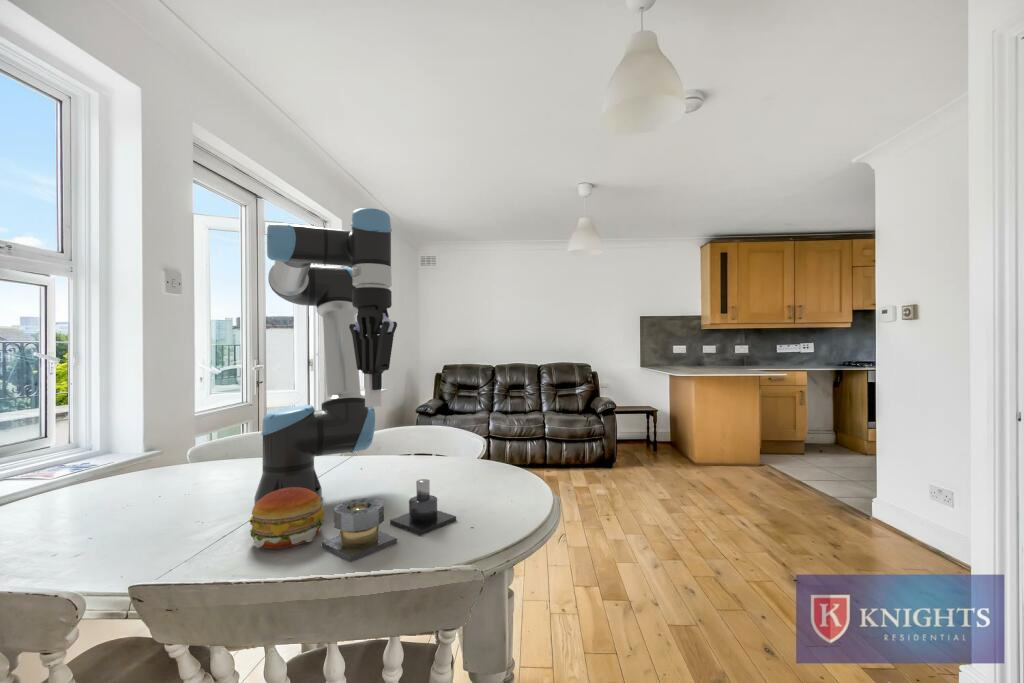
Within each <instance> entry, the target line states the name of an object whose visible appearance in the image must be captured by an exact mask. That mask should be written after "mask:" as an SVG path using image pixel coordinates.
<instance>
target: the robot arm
mask: <svg viewBox="0 0 1024 683" xmlns="http://www.w3.org/2000/svg"><path fill="white" fill-rule="evenodd" d="M350 226H351V230H345V229H337V228H335V229H334V228H325V227H317V226H309V225H300V224H291V223H289V222H286V223H275V222H273V223H269V224H268V225H267V228H266V229H267V230H266V231H267V232H266V255H267V258H268V259H269V260H271V261H274V264H273V265H272V266H271V268H270V269H269V272H268V284H269V286H270V289H271V290H272V292H274V293H275V294H276V296H278V297H280V298H282V299H283V300H284V301H287V302H288V303H289V302H290V303H292V304H295V305H298V306H310V307H316V313H317V315H319V316H321V317H322V324H323V328H322V329H323V341H324V343H323V344H324V359H325V360H324V362H325V378H326V379H325V381H326V384H325V385H326V398H325V399H324V400H323V402H321V404H320V406H321V407H320V408H321V409H317V410H315V408H314V406H313V405H312V404H311V405H310V404H305V405H296V406H295V405H293V406H290V407H289V406H288V407H285V408H279V409H277V410H273V411H270V412H268V413H267V414H266V415H264V417H263V419H262V427H261V428H262V429H261V430H262V431H261V433H260V434H261V436H262V463H261V464H262V475H261V477H260V480H259V483H258V485H257V489H256V492H255V495H254V502H253V503H254V505H255V504H256V503H257V501H259V500H260V499H261V498H262V497H264V496H265V495H267V494H269V493H271V492H273V491H276V490H279V489H283V488H289V487H300V488H306V489H309V490H311V491H313V492H315V493H316V494H317V495H318V496H319V497H320V498H321V499H322V498H323V496H322V495H323V493H322V492H323V490H322V486H321V483H320V481H319V478H318V475H317V471H316V469H315V457H321V456H330V455H339V454H344V453H345V454H346V453H347V454H348V453H351V454H354V452H355V453H356V452H361V451H366V450H368V449H369V448H370V446H371V445H372V443H373V440H374V434H375V429H376V428H375V427H376V413H375V408H376V407H381V406H382V387H383V385H382V384H383V383H382V379H383V377H382V375H383V373H384V372H385V371H389V369H390V364H391V357H392V350H393V349H392V348H393V343H394V337H395V332H396V329H397V327H398V323H397V322H396V321H392V320H391V319H390V318H389V316H390V315H389V312H388V309H391V307H392V305H393V304H392V302H393V300H392V298H393V297H392V291H391V289H389V288H391V287H392V284H393V283H392V282H393V281H392V280H393V278H392V276H393V275H392V232H393V229H392V224H391V216H390V214H389V213H388V212H386V211H384V210H382V209H379V208H372V207H364V208H363V207H362V208H357V209H355V210H354V211H353V212H352V214H351V223H350ZM315 264H317V265H315ZM328 265H329V266H328ZM339 266H340V267H339ZM355 317H356V318H355ZM355 319H356V320H355ZM360 371H361V373H362V374H363V376H364V377H363V379H364V380H363V384H364V385H363V386H364V387H363V388H364V396H363V395H362V393H361V383H360ZM374 407H375V408H374ZM254 505H253V506H254Z"/></svg>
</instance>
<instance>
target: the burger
mask: <svg viewBox="0 0 1024 683" xmlns="http://www.w3.org/2000/svg"><path fill="white" fill-rule="evenodd" d="M322 501H323V500H322V498H320V497H319V496H318V495H317V494H316V493H315V492H313V491H311V490H309V489H306V488H300V487H289V488H283V489H279V490H276V491H273V492H271V493H269V494H267V495H265V496H264V497H262V498H261V499H260V500H259V501H257V503H256V504H255V505H253V507H252V511H251V517H249V518H250V519H249V523H250V526H252V527H251V529H250V530H249V532H250V536H251V537H252V539H253V543H254V544H255V548H257V549H259V548H264V549H273V550H274V549H283V548H285V549H286V548H290V547H294V546H298V545H302V544H304V543H310V542H312V541H313V539H314V538H315V537H316V536H317V535H318V534H319V532H320V530H321V527H322V526H323V520H324V519H325V518H324V516H325V514H324V507H323V506H322Z"/></svg>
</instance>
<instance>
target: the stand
mask: <svg viewBox="0 0 1024 683" xmlns="http://www.w3.org/2000/svg"><path fill="white" fill-rule="evenodd" d="M430 481H431V480H430V479H426V478H422V479H421V478H420V479H417V480H416V481H415V482H416V496H413V497H410V499H409V500H408V501H409V502H408V513H405V514H402V515H400V516H397V517H394V518H391V519H389V525H390V526H393V527H396V528H399V529H402V530H404V531H406V532H410V533H412V534H414V535H418V536H420V537H421V536H424V535H425V534H428V533H430V532H433V531H435V530H438V529H440V528H443V527H445V526H448V525H450V524H452V523H455V522H457V516H456V515H453V514H450V513H447V512H443V511H441V510H438V497H436V495H431V493H430V488H431V487H430V485H431V484H430Z"/></svg>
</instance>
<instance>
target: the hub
mask: <svg viewBox="0 0 1024 683" xmlns="http://www.w3.org/2000/svg"><path fill="white" fill-rule="evenodd" d="M366 508H367V507H366V506H358V507H354V508H352V509H351V510H363V509H366ZM339 532H340V533H339V535H337V536H335V537H332V538H330V539H326V540H324V541H321V548H322V549H324V550H326V551H327V552H330V553H332V554H334V555H336V556H337V557H340V558H342V559H344V560H345V561H348V562H350V563H352V562H354V561H357V560H360V559H361V558H362V559H363V558H364V557H367V556H369V555H372V554H374V553H376V552H379V551H381V550H383V549H386V548H388V547H391V546H393V545H396V544H398V537H396V536H393V535H391V534H388V533H386V532H383V531H382V530H379V525H378V526H375V527H373V528H370V529H366V530H360V531H341V530H339Z"/></svg>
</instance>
